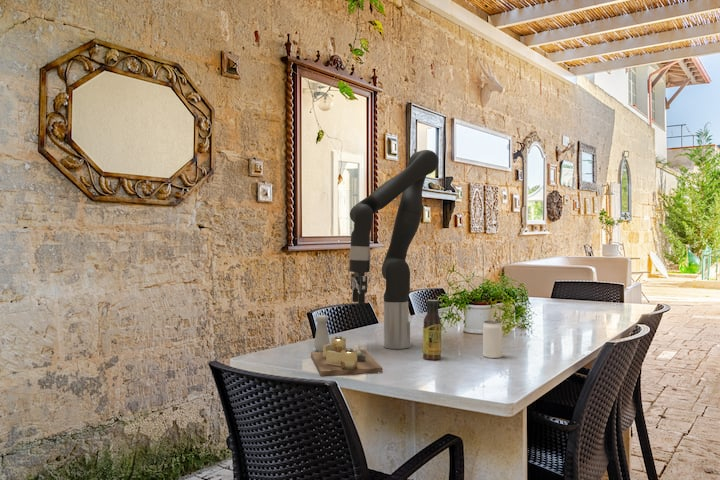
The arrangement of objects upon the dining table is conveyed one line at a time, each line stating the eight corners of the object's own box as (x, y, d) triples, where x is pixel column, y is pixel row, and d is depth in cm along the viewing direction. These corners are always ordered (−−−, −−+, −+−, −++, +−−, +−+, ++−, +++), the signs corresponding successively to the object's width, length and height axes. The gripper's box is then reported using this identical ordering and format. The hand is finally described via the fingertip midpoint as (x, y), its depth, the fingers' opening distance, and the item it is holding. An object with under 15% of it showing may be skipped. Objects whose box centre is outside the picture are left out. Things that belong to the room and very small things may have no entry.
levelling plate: (364, 353, 209) (364, 340, 209) (382, 372, 181) (382, 357, 181) (311, 356, 206) (310, 343, 206) (320, 376, 177) (320, 360, 177)
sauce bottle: (429, 361, 196) (428, 301, 196) (419, 357, 202) (418, 299, 201) (445, 359, 199) (445, 300, 199) (435, 355, 205) (434, 298, 204)
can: (503, 355, 204) (503, 320, 204) (501, 359, 198) (501, 323, 198) (484, 354, 206) (484, 320, 206) (482, 358, 200) (481, 322, 200)
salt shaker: (327, 352, 212) (327, 316, 212) (312, 352, 213) (311, 316, 213) (331, 349, 218) (331, 314, 218) (316, 349, 219) (316, 314, 219)
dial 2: (360, 367, 181) (360, 349, 181) (350, 370, 177) (350, 351, 177) (332, 362, 189) (332, 344, 188) (322, 365, 185) (322, 347, 185)
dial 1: (336, 351, 206) (336, 335, 206) (348, 352, 203) (348, 336, 203) (318, 357, 196) (317, 340, 196) (330, 359, 193) (330, 341, 193)
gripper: (375, 260, 210) (373, 305, 210) (364, 258, 223) (362, 301, 223) (354, 259, 208) (353, 305, 208) (345, 257, 221) (343, 300, 221)
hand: (358, 303), depth 216 cm, fingers open, 8 cm apart
